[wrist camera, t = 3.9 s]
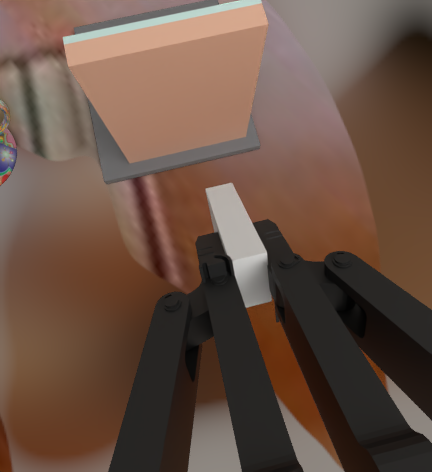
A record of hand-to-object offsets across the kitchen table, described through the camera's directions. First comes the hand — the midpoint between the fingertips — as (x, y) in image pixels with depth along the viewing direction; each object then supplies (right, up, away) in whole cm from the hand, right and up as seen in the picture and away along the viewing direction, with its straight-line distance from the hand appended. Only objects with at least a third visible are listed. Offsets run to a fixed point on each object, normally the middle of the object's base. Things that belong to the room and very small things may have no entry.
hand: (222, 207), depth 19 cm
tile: (-3, +8, +15) cm, 17 cm away
